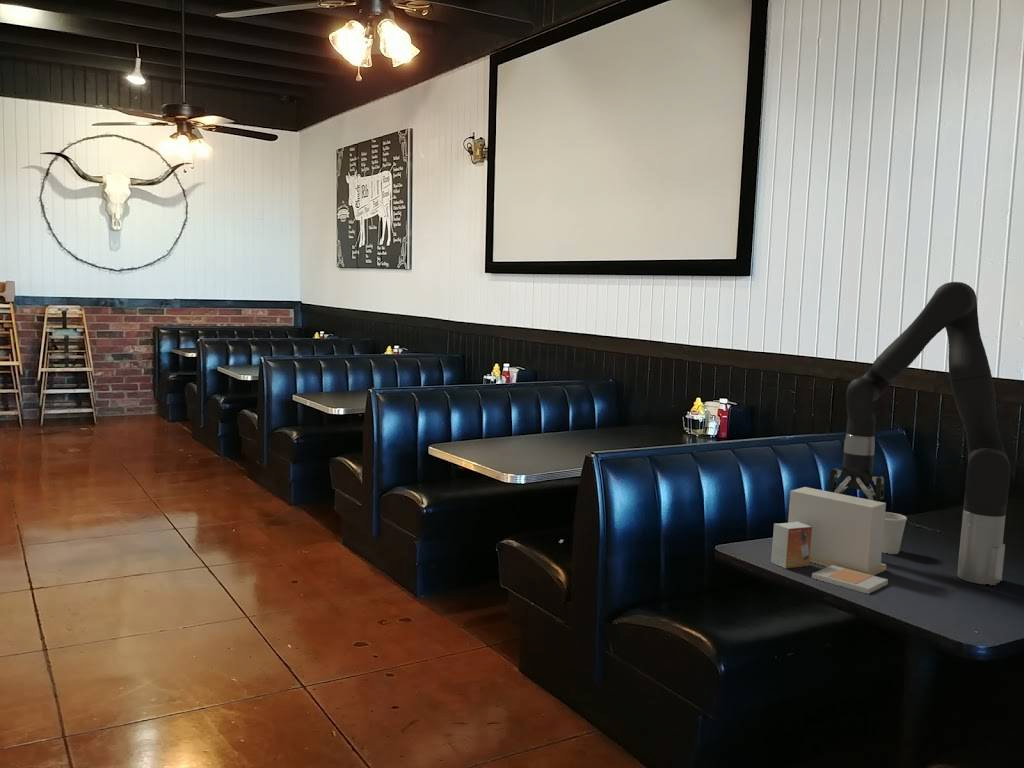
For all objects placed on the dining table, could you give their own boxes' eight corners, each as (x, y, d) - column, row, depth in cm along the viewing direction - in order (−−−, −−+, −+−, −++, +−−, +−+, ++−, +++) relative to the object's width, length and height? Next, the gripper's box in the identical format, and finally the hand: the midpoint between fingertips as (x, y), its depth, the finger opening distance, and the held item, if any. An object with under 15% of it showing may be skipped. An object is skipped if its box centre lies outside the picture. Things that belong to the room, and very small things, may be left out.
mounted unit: (885, 570, 220) (891, 503, 218) (868, 578, 213) (874, 509, 211) (798, 547, 237) (803, 485, 235) (780, 554, 230) (785, 490, 228)
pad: (887, 584, 209) (888, 579, 209) (868, 593, 201) (868, 588, 201) (832, 569, 219) (832, 564, 219) (811, 578, 211) (812, 573, 211)
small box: (785, 569, 218) (788, 528, 216) (770, 562, 223) (773, 523, 222) (809, 566, 221) (812, 526, 220) (794, 560, 226) (797, 520, 225)
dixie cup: (897, 547, 241) (901, 512, 240) (908, 556, 233) (911, 520, 232) (867, 545, 242) (870, 510, 241) (876, 554, 234) (879, 518, 233)
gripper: (891, 454, 227) (886, 514, 229) (839, 446, 237) (835, 503, 239) (879, 457, 222) (874, 518, 224) (827, 448, 232) (822, 507, 234)
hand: (854, 510), depth 231 cm, fingers open, 8 cm apart
